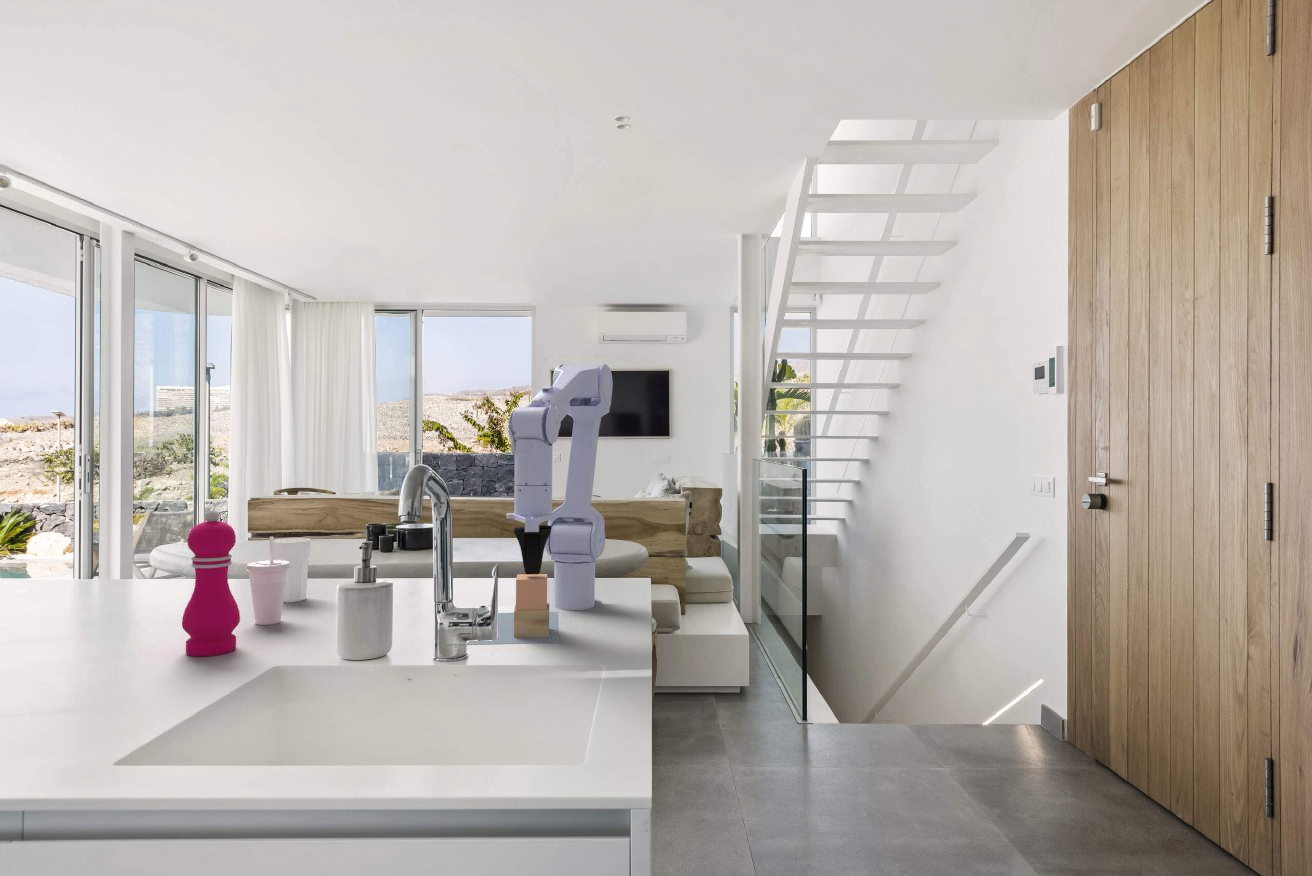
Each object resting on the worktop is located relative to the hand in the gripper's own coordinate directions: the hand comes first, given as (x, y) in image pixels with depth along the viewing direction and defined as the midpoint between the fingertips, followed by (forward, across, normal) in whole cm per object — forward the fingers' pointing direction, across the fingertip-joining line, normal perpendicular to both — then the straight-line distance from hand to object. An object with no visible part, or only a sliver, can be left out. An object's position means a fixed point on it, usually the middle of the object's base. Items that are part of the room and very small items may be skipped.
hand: (532, 573), depth 123 cm
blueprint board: (+10, -4, -4) cm, 11 cm away
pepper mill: (+10, +3, -45) cm, 46 cm away
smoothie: (+10, -14, -43) cm, 46 cm away
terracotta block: (+5, 0, 0) cm, 5 cm away
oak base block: (+9, 0, 0) cm, 9 cm away
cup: (+10, -32, -45) cm, 56 cm away
